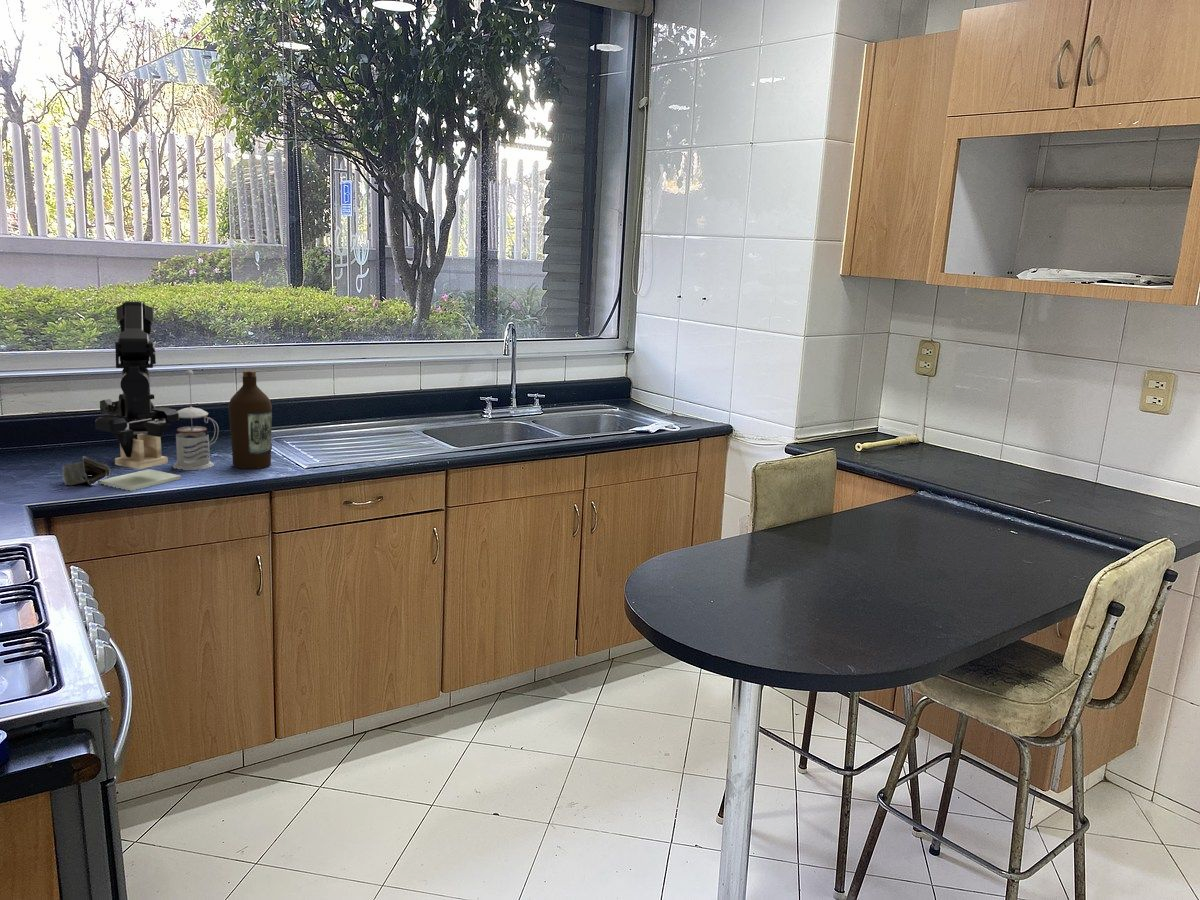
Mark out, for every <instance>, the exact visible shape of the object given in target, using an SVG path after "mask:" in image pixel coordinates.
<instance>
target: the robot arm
mask: <svg viewBox="0 0 1200 900" xmlns="http://www.w3.org/2000/svg"><path fill="white" fill-rule="evenodd" d="M115 313H116V315H115V316H116V324H117V326H120V327H119V328H120V332H119V333H118V341H114V343H115V345H114V346H115V347H114V348H115V351H114V352H115V369H122V370H121V378H120V379H121V380H120V389H121V391H122V393H120V394H119V396H118V400H117V401H112V399H110V398H108V399H107V398H106V399H102V400H100V401H99V409H100V413H101V414H102V415H105V416H99V417H97V418H96V419H95V421H94V430H97V431H103V432H108V433H112V434H113V435H114V436H115V438H116V439H117V440H118V442H119V446H120V445H121V447H122V449H123V451H124V453H125V455H126V457H131V453H132V445H133V438H134V439H138V438H137V434H141V433H142V434H147V435H152V436H158V437H161V438H162V437H163V434H164V433H165V431H166V429H167V428H168V427H170V425H171V423H173V422H179V420H180V418H179V414H178V412H177V411H178V410H176V409H174V408H168V407H156V406H155V405H154V403H153V402H152V400H154V399H155V394H154V393H152V394H151V384H150V383H151V381H150V370H149V369H154V365H156V364H157V363H156V362H157V361H156V359H157V358H156V347H155V345H154V343H153V342H152V341H149V339H150V337H149V336H150V334H151V333H152V326H154V325H155V322H154V319H155V317H154V308H153V307H151V306H148V305H146V303H145V302H143V301H133V300H132V301H127V300H126V301H122V304H121V305H117V306H116V307H115Z"/></svg>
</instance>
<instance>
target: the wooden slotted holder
mask: <svg viewBox="0 0 1200 900" xmlns="http://www.w3.org/2000/svg"><path fill="white" fill-rule="evenodd" d="M137 438H138V439H134V438H133V445H132V453H131V457H126V455H125V453H124V451H123V449H122V447H121V445H120V444H119V450H120V457H115V458H114V465H116V466H120V467H126V468H130V469H135V470H145V469H149V468H151V467H155V466H160V465H165V464H168V463H169V462H168V461H169V458H168V456H165V455H162V440H161V438H162V436H161V437H158V436H152V435H147V434H142V433H141V434H137Z"/></svg>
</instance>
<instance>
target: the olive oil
mask: <svg viewBox="0 0 1200 900" xmlns="http://www.w3.org/2000/svg"><path fill="white" fill-rule="evenodd" d="M228 419H229V430H230V444H231V453H232V454H231V456H232V457H231V459H232V466H233V467H234V468H236V469H241V470H256V469H258V470H259V469H264V468H268V467H270V466H271V465H272V462H271V461H272V449H273V444H272V423H273V405H272V402H271V400H270V398H269V396H267V394H266V393H264V391H262V389H260V388H259V386H258V385H257V371H255V370H250V369H249V370H247V369H246V370H243V371H242V386H241V387H240V388H238V390H237V391H236V392H235V393H234V395H233V396H232V397H231V398H230V400H229V403H228Z"/></svg>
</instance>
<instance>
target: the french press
mask: <svg viewBox="0 0 1200 900" xmlns="http://www.w3.org/2000/svg"><path fill="white" fill-rule="evenodd" d="M185 375H186V376H188V377H189V378H188V379H189V381H191V376H194V371H193V370H191V369H189V370H186V371H185ZM191 386H192V385H191V383H189V397H190V398H189V399H190V403H192V392H191V391H192V389H191ZM176 411H177V412H178V414H179V419H190V421H191V426H190V425H187V426H182V427H178V428H177V429H176V431H177V432H178V433H176V434H175V445H176V462H175V463H174V464H173V465H174V466H172V468H174V469H176V468H177V469H176V470H180V469H183V470H184V471H196V470H197V469H198V470H204V469H205V470H206V469H210V468H212V467H214V466H215V464H214V463H213V462H212V461H211V459H210V458H211V457H210V452H211V451H210V446H212V445H213V444H215V443H216V441H217V440H218V438H219V434H220V431H219V430H220V428H219V425H218V423H217V421H216V420H214V419H213V418H211V417H208V415H209V412H208V411H206V410H204V409H202V408H199V407H194V406H189V407H185V408H181V409H179V410H176ZM199 418H200V419H201V418H203V421H204V423H205V424H208V423H209V421H210V422H212V424H213V427H214V433H213V436H212V438H211V440H210V437H209V433H206V431H207V430H208V428H207V427H205V426H200V425H199V426H198V425H196V426H195V425H193V419H199ZM216 428H217V430H216ZM216 431H217V434H216ZM189 436H190V437H189ZM215 436H216V438H215ZM213 440H214V441H213ZM212 441H213V442H212ZM186 447H187V448H186ZM193 451H194V452H193ZM186 452H187V453H186ZM209 467H210V468H209ZM183 470H182V471H183Z"/></svg>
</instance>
